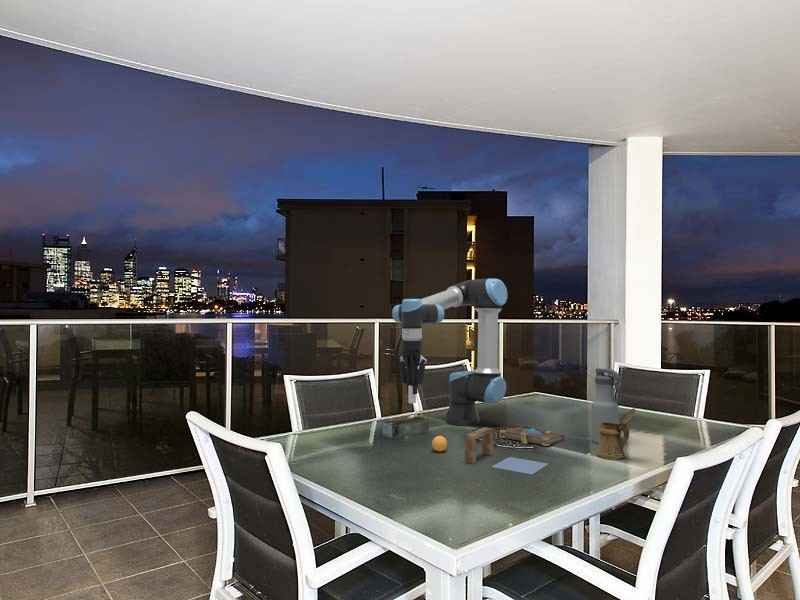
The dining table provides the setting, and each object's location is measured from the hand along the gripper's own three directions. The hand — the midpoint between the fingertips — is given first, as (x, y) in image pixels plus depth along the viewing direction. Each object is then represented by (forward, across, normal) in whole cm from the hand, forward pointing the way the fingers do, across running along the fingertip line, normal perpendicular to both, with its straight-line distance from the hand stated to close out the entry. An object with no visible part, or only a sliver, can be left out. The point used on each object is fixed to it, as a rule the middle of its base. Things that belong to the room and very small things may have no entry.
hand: (412, 402), depth 201 cm
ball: (+14, +12, 0) cm, 18 cm away
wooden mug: (+17, +66, +28) cm, 74 cm away
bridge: (+16, +28, 0) cm, 32 cm away
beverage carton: (+17, -14, +15) cm, 26 cm away
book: (+17, +30, +36) cm, 50 cm away
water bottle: (+17, +57, +48) cm, 76 cm away
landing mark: (+16, +43, 0) cm, 46 cm away
